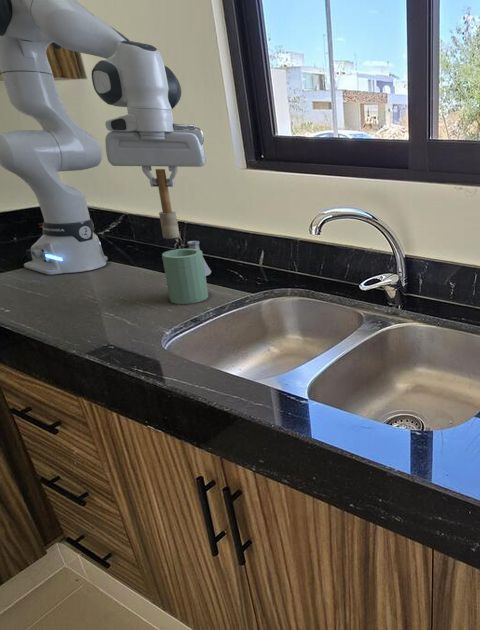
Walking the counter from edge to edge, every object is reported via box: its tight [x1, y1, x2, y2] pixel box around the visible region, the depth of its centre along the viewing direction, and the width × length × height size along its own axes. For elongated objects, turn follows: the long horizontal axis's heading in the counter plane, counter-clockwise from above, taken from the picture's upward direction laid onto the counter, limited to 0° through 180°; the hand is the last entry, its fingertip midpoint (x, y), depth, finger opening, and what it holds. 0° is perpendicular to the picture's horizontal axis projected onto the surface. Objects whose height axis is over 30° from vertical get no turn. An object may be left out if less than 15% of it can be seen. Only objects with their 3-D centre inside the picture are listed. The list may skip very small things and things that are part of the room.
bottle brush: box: [154, 168, 180, 240], centre depth 113 cm, size 4×4×16 cm
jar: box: [161, 248, 209, 305], centre depth 120 cm, size 9×9×12 cm
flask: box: [186, 240, 212, 277], centre depth 139 cm, size 7×7×10 cm
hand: (162, 186), depth 112 cm, fingers closed on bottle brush, 2 cm apart
